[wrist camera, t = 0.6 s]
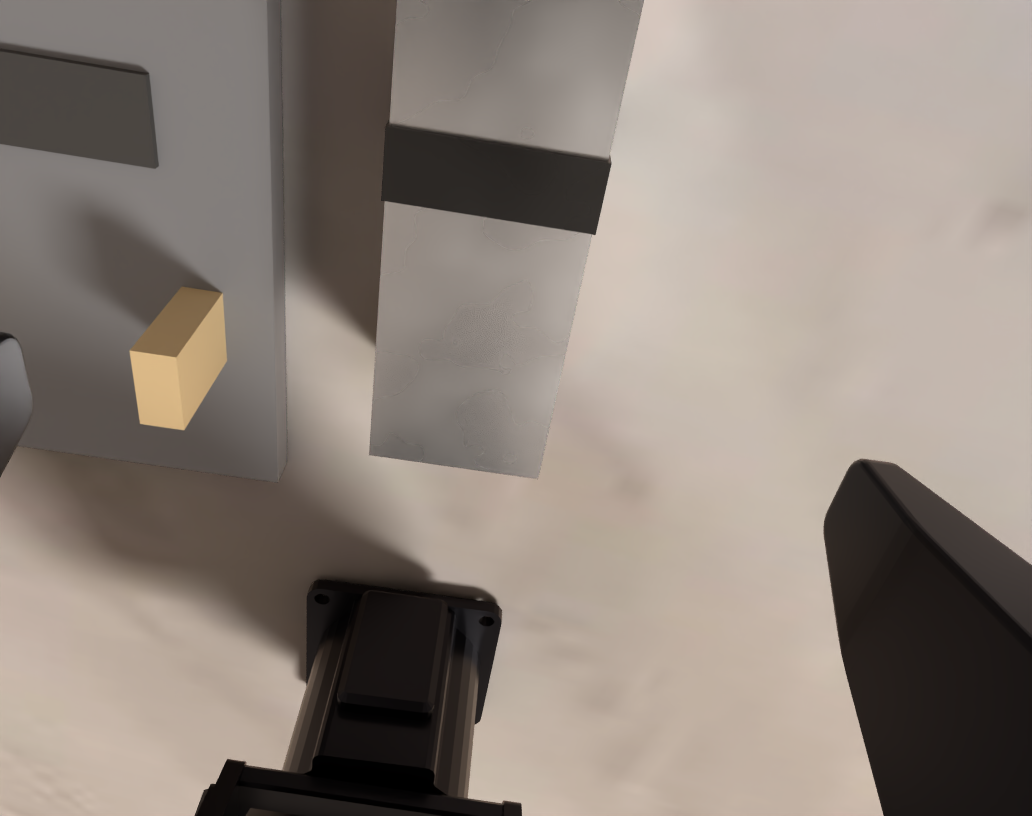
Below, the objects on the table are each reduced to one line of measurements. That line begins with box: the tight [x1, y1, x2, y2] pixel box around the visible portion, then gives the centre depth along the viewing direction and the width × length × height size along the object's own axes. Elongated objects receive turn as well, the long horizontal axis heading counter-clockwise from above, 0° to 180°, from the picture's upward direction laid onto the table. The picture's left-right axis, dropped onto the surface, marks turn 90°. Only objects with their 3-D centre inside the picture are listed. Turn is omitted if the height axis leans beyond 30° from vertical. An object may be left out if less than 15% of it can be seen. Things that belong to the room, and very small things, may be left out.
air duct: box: [369, 0, 644, 479], centre depth 17 cm, size 14×4×4 cm, turn 171°
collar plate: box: [0, 0, 287, 483], centre depth 17 cm, size 20×10×4 cm, turn 171°
